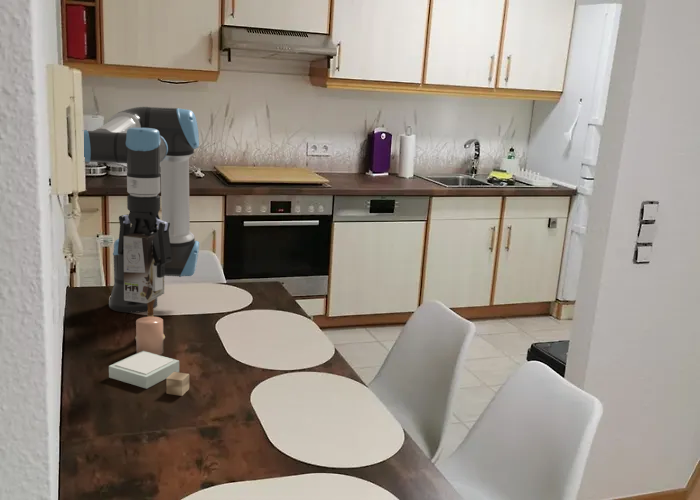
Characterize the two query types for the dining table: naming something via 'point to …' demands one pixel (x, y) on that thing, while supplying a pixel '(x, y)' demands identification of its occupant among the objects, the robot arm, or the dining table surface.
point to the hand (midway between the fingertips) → (144, 286)
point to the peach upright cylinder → (149, 335)
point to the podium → (143, 369)
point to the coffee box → (139, 268)
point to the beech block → (177, 383)
